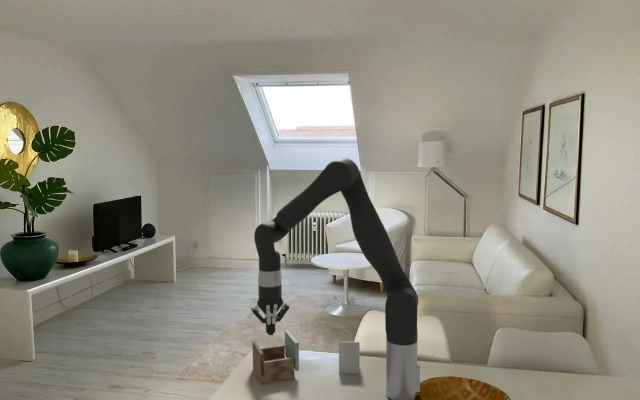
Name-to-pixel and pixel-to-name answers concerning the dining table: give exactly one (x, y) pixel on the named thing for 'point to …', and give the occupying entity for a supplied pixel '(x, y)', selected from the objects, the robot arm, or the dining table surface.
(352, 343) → the grey wedge block
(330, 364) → the dining table surface
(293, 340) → the panel
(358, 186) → the robot arm
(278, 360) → the brown wooden open box
